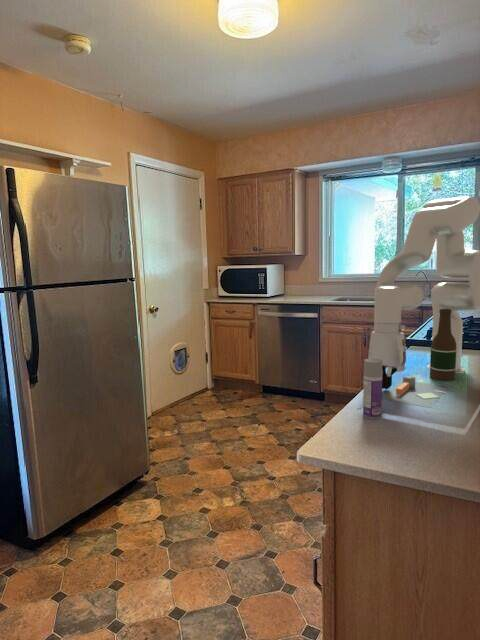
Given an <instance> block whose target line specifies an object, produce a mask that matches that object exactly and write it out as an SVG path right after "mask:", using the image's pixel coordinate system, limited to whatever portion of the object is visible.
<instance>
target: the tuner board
mask: <svg viewBox="0 0 480 640" xmlns="http://www.w3.org/2000/svg"><path fill="white" fill-rule="evenodd" d="M401 384H403V379H401V380H400V381H399V382H398V383H396V384H395V385H394V386H393V387H390V388H389V390H387V391H386V392H385V393H384V394H382V400H384V401H392V402H395V403H402V404H407V405H412V406H418V407H424V408H432V406H434V405H435V404H436V402H437V401H438V400H439V399H440V398H441V397H442V396H443V394H446V393H447V390H448V389H449V388H450V386H448V385H447V386H446V385H440V384H433V383H428V382H420V381H415V387H414V388H409V389H408V390H407V391H406V392H404V393H403V394H402V395H396V388H398V387H399V386H400V385H401Z"/></svg>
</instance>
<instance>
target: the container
mask: <svg viewBox="0 0 480 640" xmlns="http://www.w3.org/2000/svg"><path fill="white" fill-rule="evenodd" d="M363 364H364V365H363V381H362V382H363V385H362V386H363V387H362V389H363V391H362V393H363V394H362V395H363V398H362V404H363V405H362V416H363V417H365V418H367V419H371V420H372V419H373V420H377V419H380V418H382V403H383V402H382V401H383V399H382V395H383V389H382V360H380V359H374V358H365V359H364V362H363Z"/></svg>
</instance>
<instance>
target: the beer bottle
mask: <svg viewBox="0 0 480 640" xmlns="http://www.w3.org/2000/svg"><path fill="white" fill-rule="evenodd" d="M439 313H440V318H439V327H438V332H437V335H436V336H435V337H434V339H433V341H432V340H431V345H430V360H429V364H430V369H429V378H430V379H432V380H435V381H440V382H441V381H442V382H452V381H454V380H455V378H456V373H455V369H456V350H457V348H456V341H455V338H454V337H453V335H452V333H451V313H452V311H451V309H440V311H439Z"/></svg>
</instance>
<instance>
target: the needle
mask: <svg viewBox="0 0 480 640" xmlns="http://www.w3.org/2000/svg"><path fill="white" fill-rule="evenodd" d="M402 380H403V384H401V385H400V386H399V387H398V388H396V395H402V394H403V393H404V392H406V391H407V390H408V389H409V388H414V387H415V382H416V377H415V376H412V375H403V376H402Z"/></svg>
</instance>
